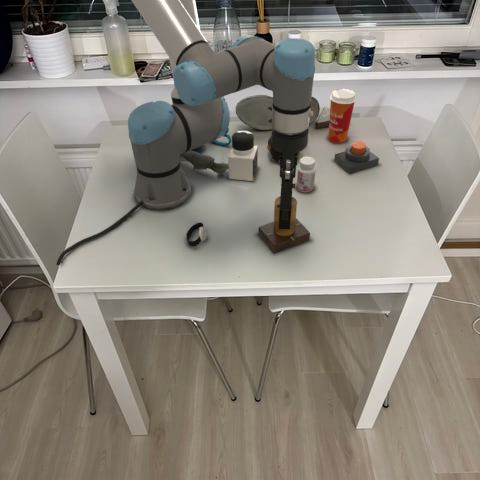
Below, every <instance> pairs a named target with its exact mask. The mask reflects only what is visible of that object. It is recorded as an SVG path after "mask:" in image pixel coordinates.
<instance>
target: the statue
mask: <svg viewBox="0 0 480 480" xmlns="http://www.w3.org/2000/svg"><path fill="white" fill-rule="evenodd" d="M180 158H182V159H184V160H185V161H187V162H188V163H190V164H191V166H193V168H192V170H195V171H202V170H205V171H207V170H211V171H213V173H216V174H220V175H223V174H224V173H226V172H227V171H229V165H228V163H224V162H216V161H215V160H216V159H215V158H214V157H213V156H211V155H208V154H202V153H200V152H197V151H194V150H190V151H187V152H184V153H182V154H180Z"/></svg>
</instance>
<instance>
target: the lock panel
mask: <svg viewBox="0 0 480 480" xmlns="http://www.w3.org/2000/svg"><path fill="white" fill-rule="evenodd" d="M258 237H260V238H261V240H262V241H263V242H264V243H265V244H266V246H267V247H268V248H269V249H270V251H272V253H273V254H276V253H278V252H281V251H285V250H287V249H289V248H292V247H295V246H298V245H301V244H305V243H307V242H309V241H310V238H311V232H310V231H309V230H308V229H307V228H306V226H305V225H304V224H303V223H302V222H301V221H300V220H299V219H298V218H297V217H296V222H295V231H294V233H293V234H291V235H289V236H280V235H277V234H276V233H275V232H274V221H272V222H268V223H266V224H263V225H259V226H258Z"/></svg>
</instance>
